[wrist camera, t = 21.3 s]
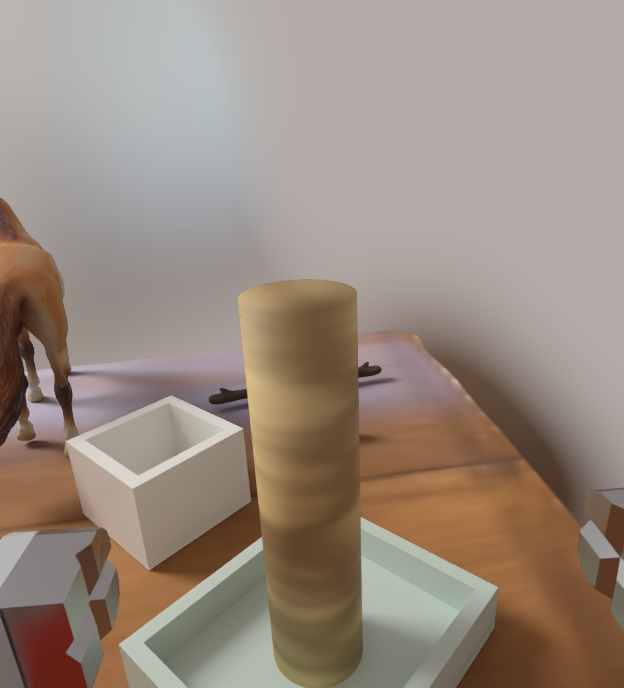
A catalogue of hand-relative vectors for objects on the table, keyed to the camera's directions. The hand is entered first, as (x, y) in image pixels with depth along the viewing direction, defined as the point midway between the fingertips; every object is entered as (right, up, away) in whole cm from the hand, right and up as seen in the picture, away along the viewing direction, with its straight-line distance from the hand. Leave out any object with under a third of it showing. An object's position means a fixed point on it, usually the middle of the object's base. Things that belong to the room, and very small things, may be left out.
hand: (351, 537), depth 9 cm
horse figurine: (-29, -5, +42) cm, 51 cm away
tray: (0, -12, +18) cm, 21 cm away
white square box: (-11, -8, +29) cm, 32 cm away
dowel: (0, -12, +17) cm, 21 cm away
